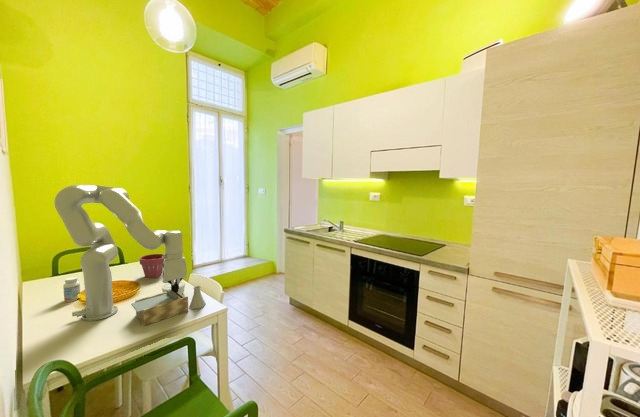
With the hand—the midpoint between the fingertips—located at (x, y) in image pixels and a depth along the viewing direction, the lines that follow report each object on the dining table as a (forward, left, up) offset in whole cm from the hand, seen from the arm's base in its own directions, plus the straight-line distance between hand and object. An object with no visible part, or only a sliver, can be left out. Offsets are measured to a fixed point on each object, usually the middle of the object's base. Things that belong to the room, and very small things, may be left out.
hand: (175, 291), depth 128 cm
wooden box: (-7, -4, -7) cm, 11 cm away
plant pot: (+5, +52, -8) cm, 53 cm away
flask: (+7, -8, -8) cm, 13 cm away
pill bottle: (-34, +43, -8) cm, 56 cm away
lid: (-9, -4, -1) cm, 10 cm away
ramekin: (+4, +14, -8) cm, 17 cm away
